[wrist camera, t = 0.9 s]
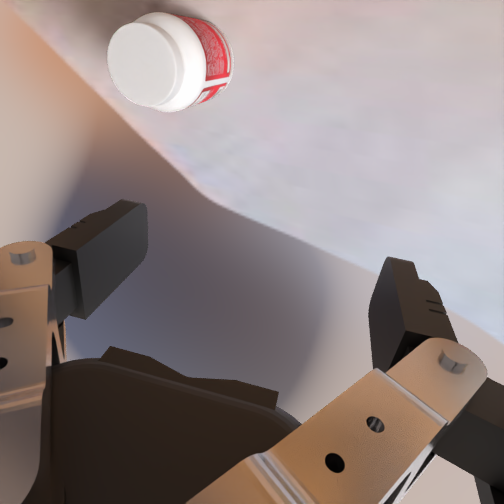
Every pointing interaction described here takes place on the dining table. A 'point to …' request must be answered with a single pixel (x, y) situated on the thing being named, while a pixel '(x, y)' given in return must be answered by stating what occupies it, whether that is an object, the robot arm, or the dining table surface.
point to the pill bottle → (169, 61)
